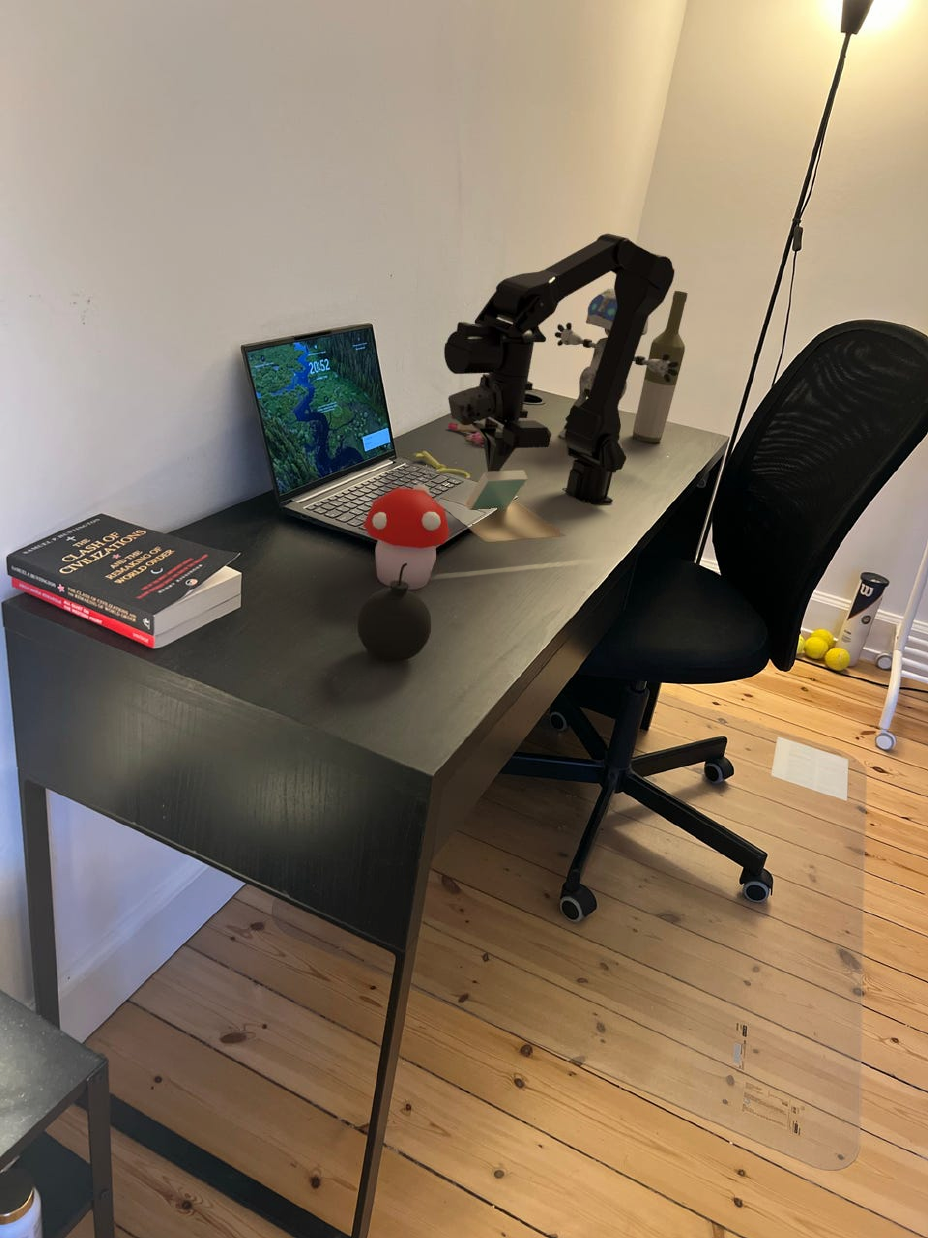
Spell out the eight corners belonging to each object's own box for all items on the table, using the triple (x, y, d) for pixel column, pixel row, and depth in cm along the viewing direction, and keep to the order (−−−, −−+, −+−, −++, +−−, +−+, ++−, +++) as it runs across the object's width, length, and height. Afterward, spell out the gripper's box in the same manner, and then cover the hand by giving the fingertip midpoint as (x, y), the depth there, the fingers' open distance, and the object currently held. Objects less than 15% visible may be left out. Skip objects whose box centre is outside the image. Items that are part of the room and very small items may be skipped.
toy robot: (517, 423, 197) (543, 272, 184) (556, 418, 205) (583, 273, 191) (633, 471, 178) (671, 307, 165) (670, 465, 186) (710, 307, 172)
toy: (445, 446, 186) (516, 461, 181) (436, 434, 181) (508, 449, 176) (457, 412, 187) (527, 426, 182) (448, 399, 182) (520, 413, 177)
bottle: (623, 434, 201) (656, 287, 188) (647, 433, 205) (681, 289, 191) (645, 445, 196) (680, 294, 183) (669, 443, 200) (706, 296, 186)
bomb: (349, 638, 105) (360, 539, 100) (419, 639, 108) (433, 542, 102) (358, 675, 99) (370, 570, 93) (432, 675, 101) (448, 573, 96)
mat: (509, 500, 154) (509, 496, 154) (565, 538, 142) (565, 535, 142) (433, 504, 147) (434, 500, 147) (485, 545, 135) (486, 542, 135)
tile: (503, 500, 149) (523, 470, 143) (507, 508, 148) (527, 478, 143) (465, 502, 146) (484, 471, 140) (468, 511, 145) (488, 480, 139)
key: (422, 461, 167) (424, 449, 166) (475, 483, 160) (476, 471, 159) (393, 467, 162) (395, 455, 161) (446, 490, 155) (448, 478, 154)
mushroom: (411, 605, 115) (423, 512, 110) (340, 575, 120) (349, 485, 114) (458, 580, 123) (471, 493, 118) (390, 553, 128) (400, 468, 123)
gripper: (430, 354, 141) (417, 455, 148) (494, 389, 127) (476, 499, 134) (494, 356, 146) (479, 453, 153) (562, 389, 132) (542, 495, 139)
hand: (492, 474), depth 145 cm, fingers closed
